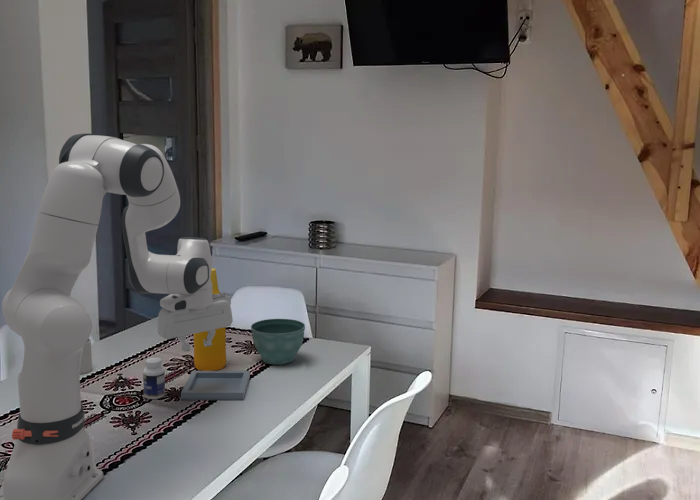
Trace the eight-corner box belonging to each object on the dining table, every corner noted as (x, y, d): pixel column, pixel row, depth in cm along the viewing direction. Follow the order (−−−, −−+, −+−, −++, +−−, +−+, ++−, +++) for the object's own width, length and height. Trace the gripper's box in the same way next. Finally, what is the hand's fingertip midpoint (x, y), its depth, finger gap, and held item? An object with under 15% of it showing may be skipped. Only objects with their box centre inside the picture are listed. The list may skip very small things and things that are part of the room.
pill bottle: (139, 396, 185) (138, 361, 183) (154, 390, 190) (153, 355, 188) (154, 401, 183) (153, 365, 181) (169, 394, 187) (168, 358, 185)
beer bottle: (231, 362, 212) (229, 267, 207) (218, 373, 203) (216, 273, 198) (202, 359, 214) (200, 265, 209) (188, 369, 205) (186, 271, 200)
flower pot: (241, 357, 216) (240, 323, 214) (286, 348, 226) (286, 315, 224) (268, 373, 204) (268, 336, 202) (315, 362, 213) (315, 327, 211)
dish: (243, 400, 184) (243, 392, 184) (181, 400, 184) (181, 392, 183) (249, 377, 200) (249, 371, 200) (192, 377, 199) (192, 370, 199)
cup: (82, 376, 199) (80, 346, 197) (51, 373, 201) (49, 342, 199) (97, 368, 205) (95, 338, 204) (66, 364, 208) (65, 335, 206)
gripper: (224, 289, 194) (225, 337, 197) (153, 301, 182) (156, 352, 184) (236, 293, 190) (237, 343, 192) (164, 306, 177) (167, 359, 179)
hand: (197, 348), depth 188 cm, fingers open, 5 cm apart
